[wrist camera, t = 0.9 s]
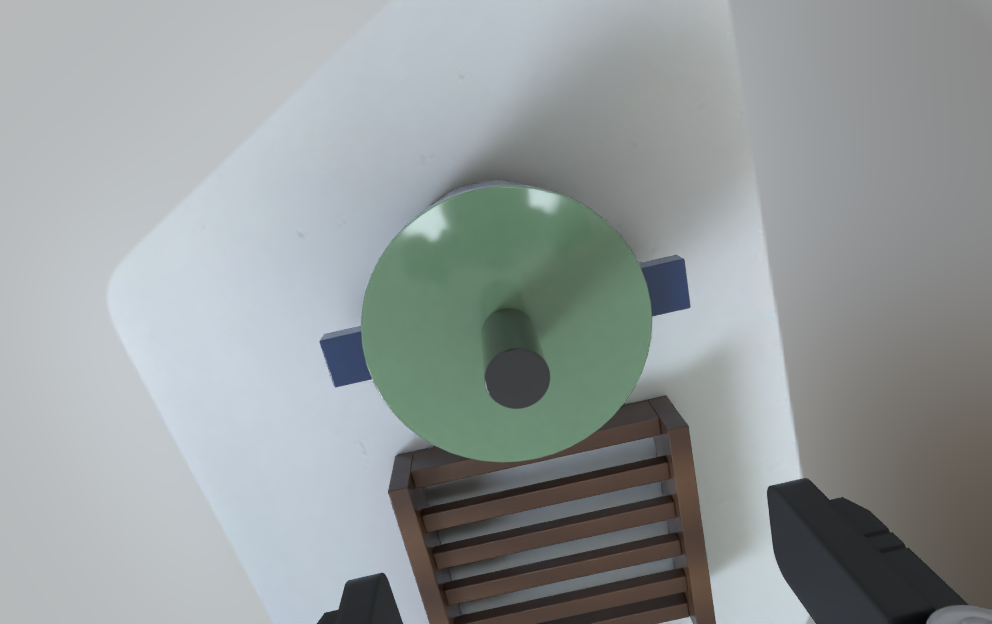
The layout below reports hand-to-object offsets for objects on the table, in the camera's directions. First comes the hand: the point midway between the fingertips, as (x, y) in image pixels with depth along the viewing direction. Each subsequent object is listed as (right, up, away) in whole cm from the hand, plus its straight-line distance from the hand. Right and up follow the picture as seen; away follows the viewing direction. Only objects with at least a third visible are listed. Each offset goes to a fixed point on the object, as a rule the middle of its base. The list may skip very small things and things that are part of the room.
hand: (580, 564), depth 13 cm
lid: (-1, +4, +15) cm, 16 cm away
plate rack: (+2, -9, +28) cm, 30 cm away
